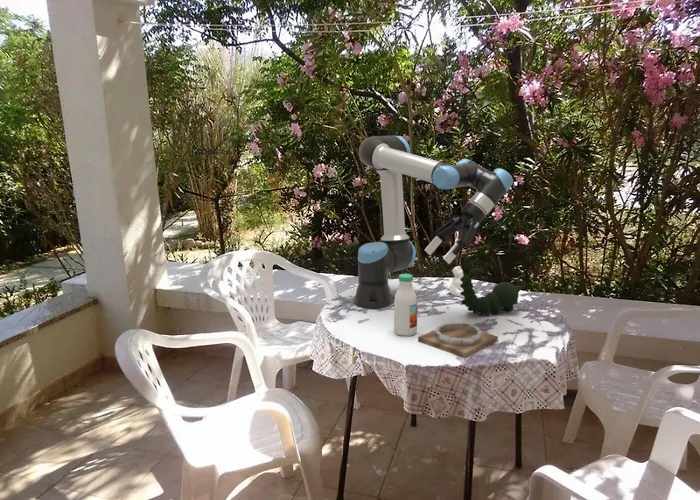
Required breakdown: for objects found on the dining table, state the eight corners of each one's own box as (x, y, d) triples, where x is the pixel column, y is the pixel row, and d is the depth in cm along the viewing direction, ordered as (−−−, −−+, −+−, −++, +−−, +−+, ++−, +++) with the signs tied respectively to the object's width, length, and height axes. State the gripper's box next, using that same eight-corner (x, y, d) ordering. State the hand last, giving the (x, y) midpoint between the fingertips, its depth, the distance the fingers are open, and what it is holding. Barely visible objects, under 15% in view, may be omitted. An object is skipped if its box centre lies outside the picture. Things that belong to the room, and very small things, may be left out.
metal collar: (426, 336, 168) (426, 330, 168) (453, 325, 178) (453, 319, 178) (463, 349, 158) (463, 343, 158) (489, 336, 168) (490, 330, 167)
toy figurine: (470, 324, 187) (531, 311, 193) (467, 274, 182) (530, 261, 188) (458, 316, 196) (516, 303, 202) (455, 267, 191) (515, 256, 197)
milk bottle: (402, 338, 172) (402, 279, 167) (389, 330, 178) (389, 274, 174) (421, 333, 175) (422, 276, 171) (408, 326, 182) (408, 270, 177)
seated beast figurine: (465, 299, 210) (466, 270, 208) (444, 296, 214) (445, 267, 212) (472, 292, 218) (473, 264, 216) (452, 290, 222) (453, 262, 220)
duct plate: (418, 341, 169) (418, 336, 169) (451, 326, 181) (451, 322, 180) (464, 357, 156) (464, 352, 156) (497, 340, 168) (497, 336, 168)
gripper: (505, 221, 165) (462, 272, 164) (464, 211, 188) (426, 256, 187) (491, 205, 162) (447, 257, 161) (451, 197, 185) (413, 242, 184)
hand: (436, 256), depth 174 cm, fingers open, 13 cm apart
